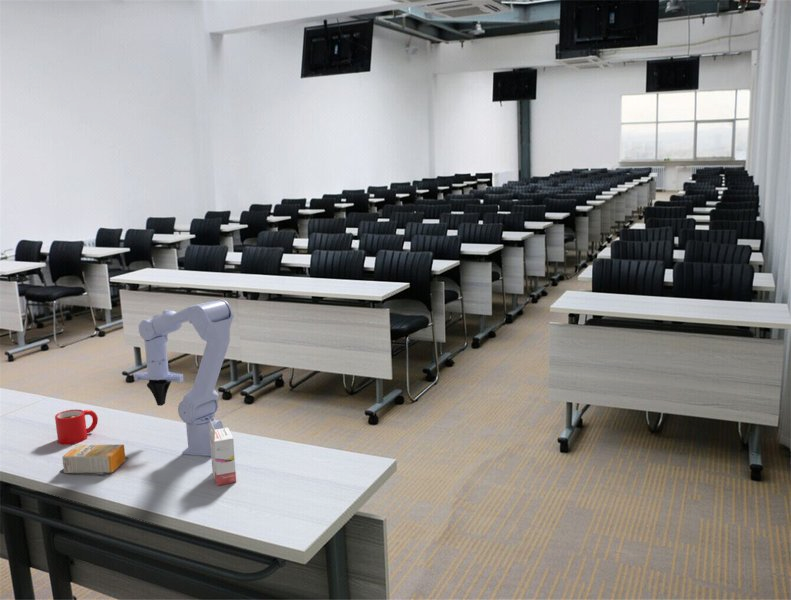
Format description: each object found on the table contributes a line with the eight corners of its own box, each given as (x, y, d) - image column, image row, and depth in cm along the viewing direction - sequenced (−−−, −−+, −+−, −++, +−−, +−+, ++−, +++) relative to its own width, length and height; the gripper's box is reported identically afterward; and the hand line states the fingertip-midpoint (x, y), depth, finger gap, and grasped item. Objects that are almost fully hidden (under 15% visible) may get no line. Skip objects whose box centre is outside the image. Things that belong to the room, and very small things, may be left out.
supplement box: (111, 455, 179) (61, 456, 180) (113, 473, 180) (63, 473, 180) (124, 443, 187) (76, 443, 188) (126, 460, 188) (78, 460, 189)
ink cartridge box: (237, 482, 174) (233, 427, 171) (217, 486, 173) (212, 430, 170) (231, 468, 182) (227, 415, 179) (212, 472, 180) (207, 419, 177)
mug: (105, 433, 208) (102, 408, 207) (67, 446, 199) (63, 420, 197) (91, 427, 213) (88, 403, 211) (52, 440, 203) (49, 415, 202)
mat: (128, 458, 190) (128, 456, 190) (103, 476, 180) (103, 474, 179) (86, 455, 193) (86, 453, 193) (59, 472, 182) (59, 470, 182)
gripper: (187, 356, 201) (190, 400, 204) (141, 354, 204) (146, 398, 207) (174, 363, 194) (178, 409, 197) (128, 361, 197) (132, 406, 200)
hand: (161, 404), depth 201 cm, fingers closed
